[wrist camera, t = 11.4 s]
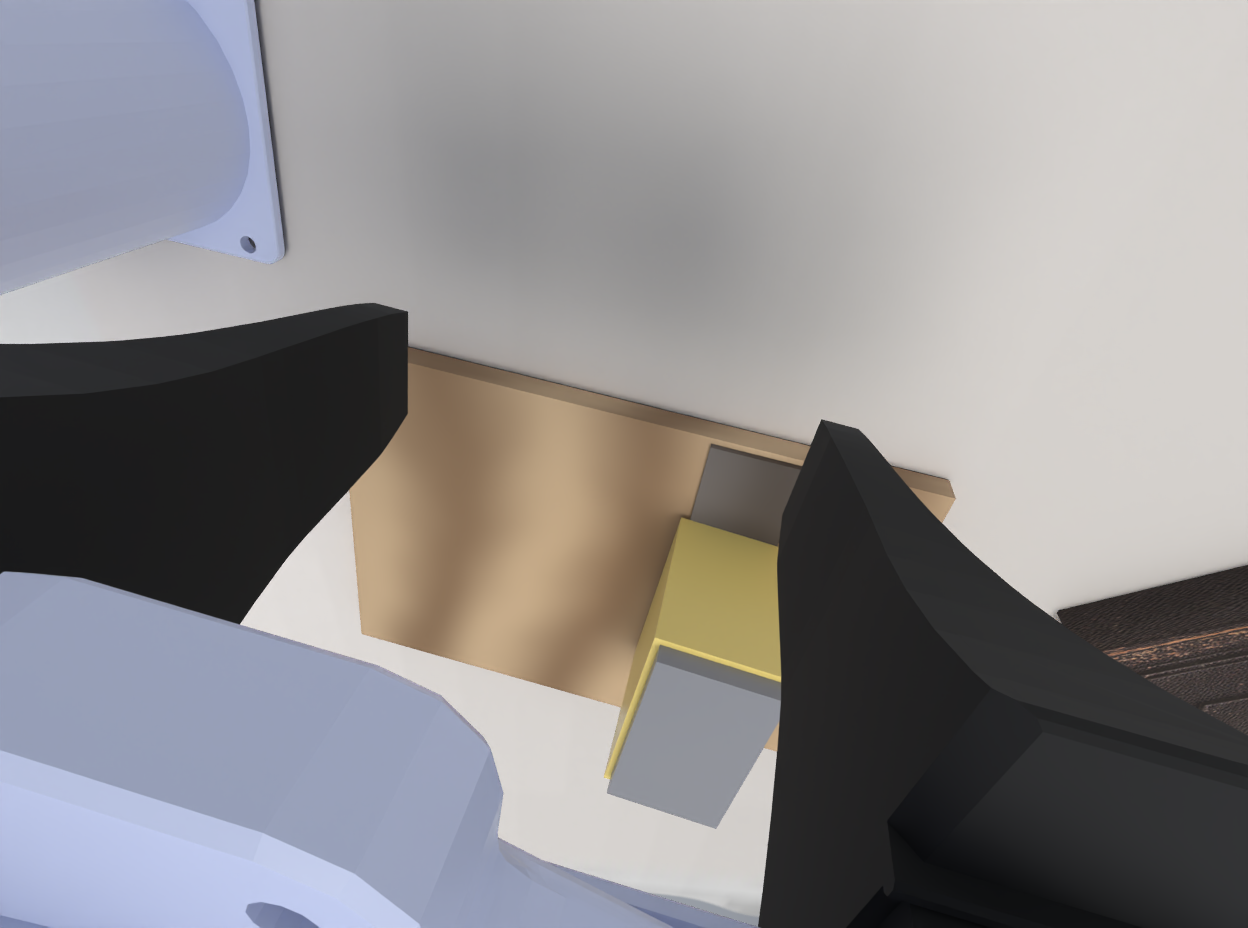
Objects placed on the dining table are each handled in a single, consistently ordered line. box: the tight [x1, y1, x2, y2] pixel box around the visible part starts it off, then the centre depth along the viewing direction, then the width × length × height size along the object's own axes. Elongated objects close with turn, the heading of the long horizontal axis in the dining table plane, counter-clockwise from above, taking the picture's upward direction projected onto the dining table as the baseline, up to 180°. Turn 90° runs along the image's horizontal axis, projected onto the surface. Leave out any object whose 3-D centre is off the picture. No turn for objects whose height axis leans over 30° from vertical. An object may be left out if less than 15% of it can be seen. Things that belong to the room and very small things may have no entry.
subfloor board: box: [349, 347, 956, 751], centre depth 25 cm, size 20×14×1 cm
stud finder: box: [604, 517, 781, 829], centre depth 22 cm, size 4×7×6 cm, turn 168°
